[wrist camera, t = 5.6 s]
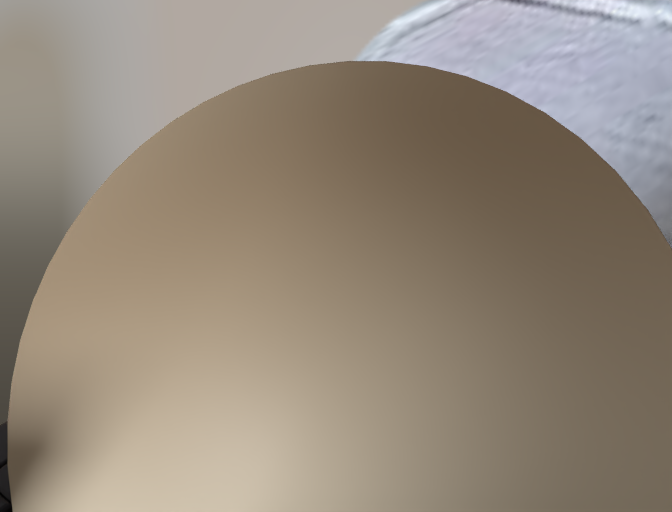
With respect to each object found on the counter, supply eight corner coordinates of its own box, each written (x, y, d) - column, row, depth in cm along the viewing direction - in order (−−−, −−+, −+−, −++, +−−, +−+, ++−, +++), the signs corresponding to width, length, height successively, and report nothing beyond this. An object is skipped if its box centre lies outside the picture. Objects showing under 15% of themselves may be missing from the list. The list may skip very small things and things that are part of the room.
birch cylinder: (554, 471, 13) (924, 728, 2) (383, 517, 14) (31, 888, 3) (489, 302, 15) (524, -32, 4) (338, 351, 16) (-8, 187, 5)
